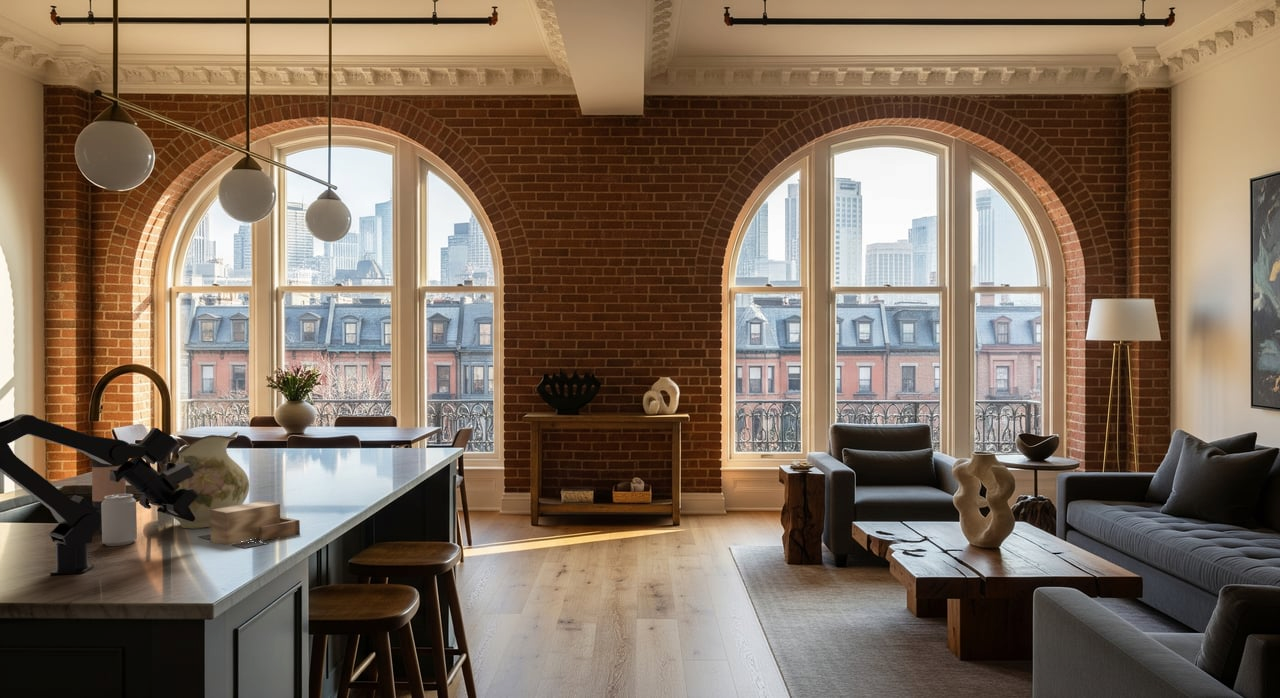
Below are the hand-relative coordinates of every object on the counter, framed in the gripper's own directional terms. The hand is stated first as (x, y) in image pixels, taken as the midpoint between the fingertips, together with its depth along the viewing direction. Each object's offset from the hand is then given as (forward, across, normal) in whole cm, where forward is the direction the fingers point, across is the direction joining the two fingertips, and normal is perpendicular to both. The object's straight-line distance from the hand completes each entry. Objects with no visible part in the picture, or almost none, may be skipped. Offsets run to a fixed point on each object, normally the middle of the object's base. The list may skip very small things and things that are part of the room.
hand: (193, 520), depth 212 cm
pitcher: (+16, +28, -6) cm, 33 cm away
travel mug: (+3, +40, +7) cm, 40 cm away
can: (-1, +22, +11) cm, 24 cm away
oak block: (+14, 0, -5) cm, 15 cm away
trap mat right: (+11, -8, -2) cm, 14 cm away
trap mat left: (+11, +9, -2) cm, 14 cm away
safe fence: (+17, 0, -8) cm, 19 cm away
